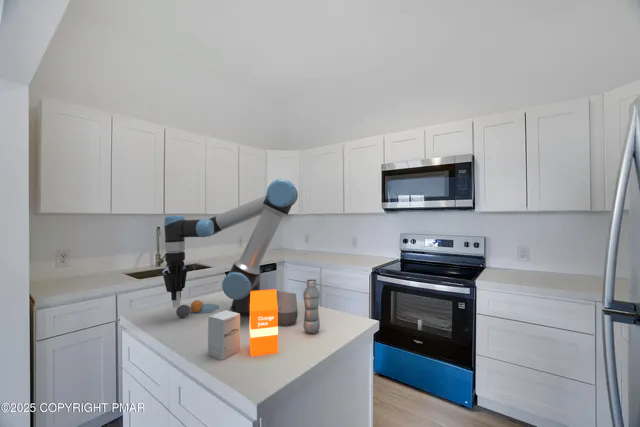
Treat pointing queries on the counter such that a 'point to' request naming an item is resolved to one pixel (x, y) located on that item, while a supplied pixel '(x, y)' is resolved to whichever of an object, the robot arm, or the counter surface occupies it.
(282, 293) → the smart speaker
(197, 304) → the object ball
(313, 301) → the plastic bottle
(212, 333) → the supplement box
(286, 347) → the counter surface
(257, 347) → the orange juice
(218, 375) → the counter surface
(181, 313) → the dark grey ball
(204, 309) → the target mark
